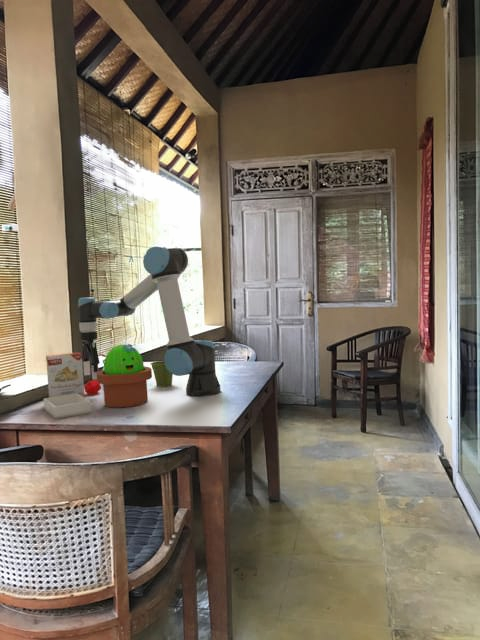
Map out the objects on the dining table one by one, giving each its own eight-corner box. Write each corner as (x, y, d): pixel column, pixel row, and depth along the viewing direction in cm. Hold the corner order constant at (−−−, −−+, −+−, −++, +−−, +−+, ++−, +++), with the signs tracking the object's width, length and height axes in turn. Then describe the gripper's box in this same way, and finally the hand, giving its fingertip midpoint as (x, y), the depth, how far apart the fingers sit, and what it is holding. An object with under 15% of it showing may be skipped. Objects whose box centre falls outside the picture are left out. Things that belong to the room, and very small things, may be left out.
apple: (82, 384, 227) (98, 376, 230) (80, 384, 233) (96, 376, 236) (89, 397, 227) (105, 389, 230) (87, 398, 233) (103, 389, 236)
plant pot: (178, 382, 247) (177, 359, 246) (173, 387, 235) (171, 363, 235) (155, 383, 248) (154, 360, 248) (148, 388, 237) (147, 364, 236)
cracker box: (51, 406, 210) (47, 356, 208) (49, 403, 215) (45, 355, 214) (85, 401, 216) (81, 353, 215) (82, 398, 222) (79, 351, 220)
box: (91, 412, 194) (90, 401, 194) (55, 419, 187) (54, 407, 187) (77, 403, 212) (76, 393, 211) (44, 409, 204) (43, 398, 204)
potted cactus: (93, 402, 212) (88, 344, 210) (142, 394, 223) (138, 338, 221) (107, 412, 193) (102, 348, 191) (161, 403, 204) (157, 342, 203)
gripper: (104, 332, 221) (107, 379, 223) (89, 329, 242) (91, 372, 244) (87, 333, 217) (90, 382, 219) (73, 330, 238) (76, 374, 240)
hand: (91, 377), depth 231 cm, fingers open, 13 cm apart
